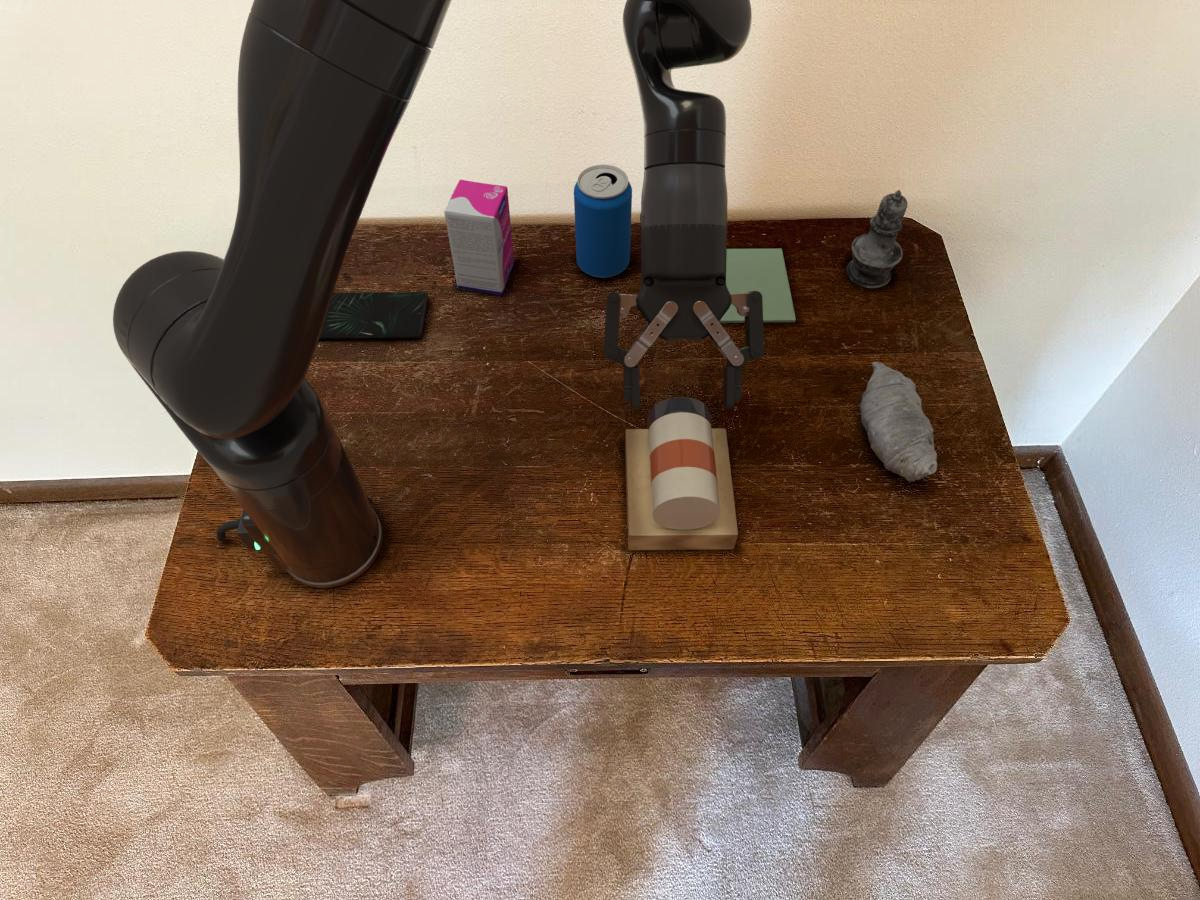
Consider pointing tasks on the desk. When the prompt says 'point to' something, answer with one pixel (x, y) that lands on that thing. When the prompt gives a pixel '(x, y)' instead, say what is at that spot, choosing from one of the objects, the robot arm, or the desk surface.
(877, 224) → the grey tiered tall piece
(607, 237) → the beverage can
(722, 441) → the stand
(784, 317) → the mat
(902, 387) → the grey oval lump
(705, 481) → the jar
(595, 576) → the desk surface
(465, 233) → the supplement box
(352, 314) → the smartphone
